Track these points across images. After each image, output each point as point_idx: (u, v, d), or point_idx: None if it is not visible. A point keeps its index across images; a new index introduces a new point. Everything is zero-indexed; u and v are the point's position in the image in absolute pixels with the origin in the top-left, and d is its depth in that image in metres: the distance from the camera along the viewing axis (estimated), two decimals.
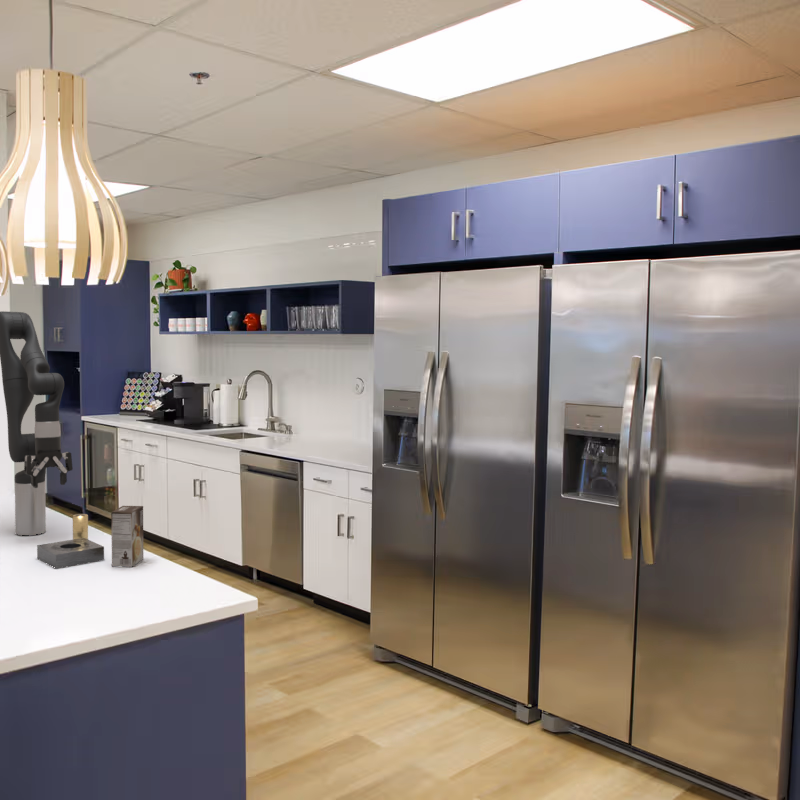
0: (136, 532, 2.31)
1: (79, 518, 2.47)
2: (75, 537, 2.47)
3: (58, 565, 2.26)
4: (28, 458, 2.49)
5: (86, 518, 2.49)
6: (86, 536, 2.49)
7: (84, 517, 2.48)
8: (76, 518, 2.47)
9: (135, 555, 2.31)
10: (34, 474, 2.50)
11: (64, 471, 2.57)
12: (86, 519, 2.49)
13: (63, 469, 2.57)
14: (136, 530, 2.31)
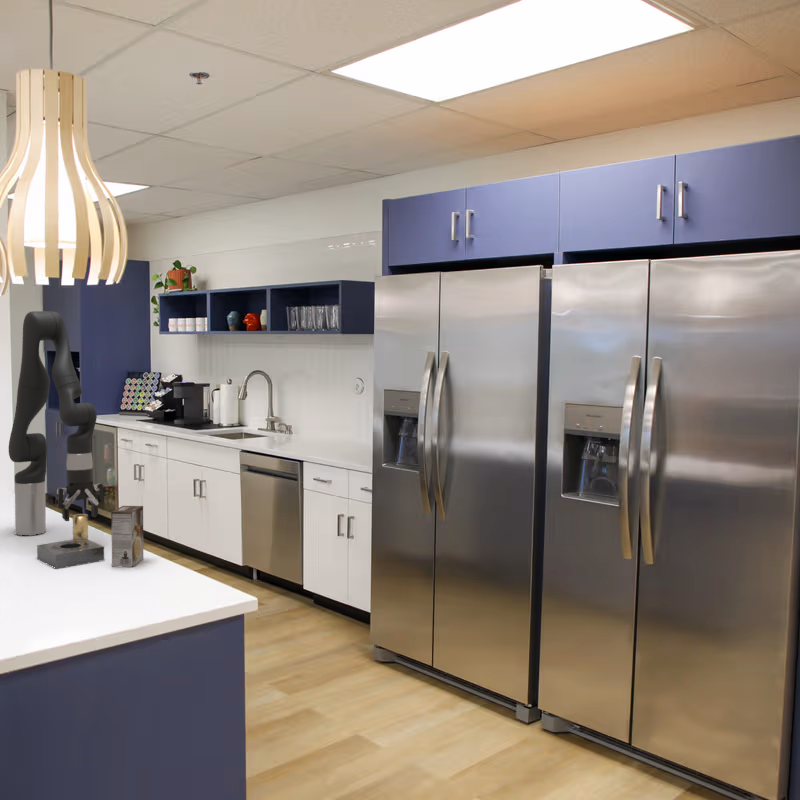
0: (136, 532, 2.31)
1: (79, 518, 2.47)
2: (75, 537, 2.47)
3: (58, 565, 2.26)
4: (60, 491, 2.43)
5: (86, 518, 2.49)
6: (86, 536, 2.49)
7: (84, 517, 2.48)
8: (76, 518, 2.47)
9: (135, 554, 2.31)
10: (66, 507, 2.44)
11: (96, 503, 2.51)
12: (86, 519, 2.49)
13: (95, 501, 2.50)
14: (136, 530, 2.31)
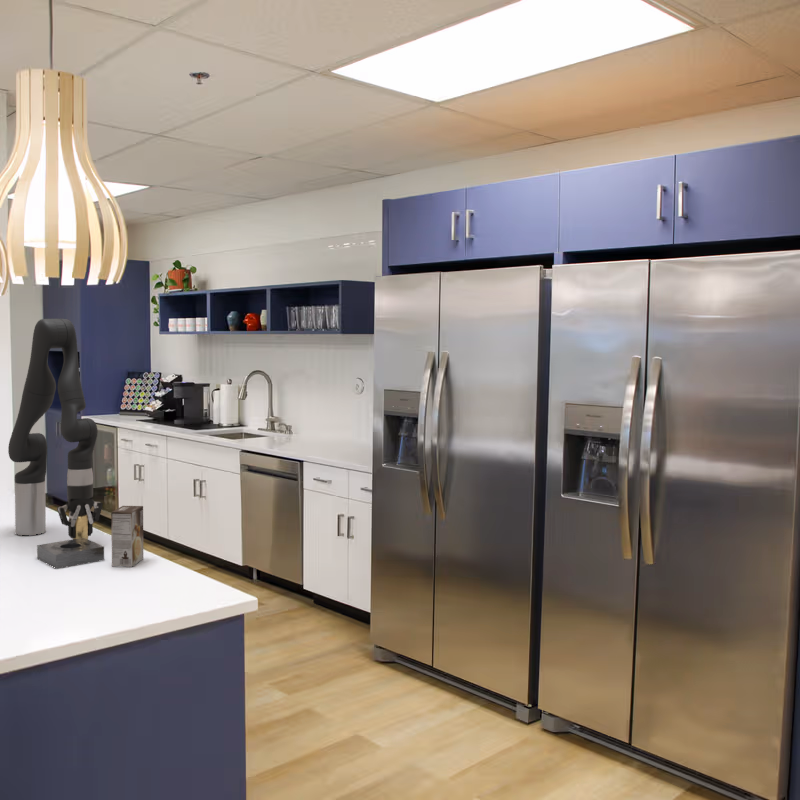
0: (136, 532, 2.31)
1: (79, 518, 2.47)
2: (75, 537, 2.47)
3: (58, 565, 2.26)
4: (61, 510, 2.44)
5: (86, 518, 2.49)
6: (86, 536, 2.49)
7: (84, 517, 2.48)
8: None
9: (135, 555, 2.31)
10: (72, 525, 2.46)
11: (90, 522, 2.50)
12: (86, 519, 2.49)
13: (90, 519, 2.50)
14: (136, 530, 2.31)
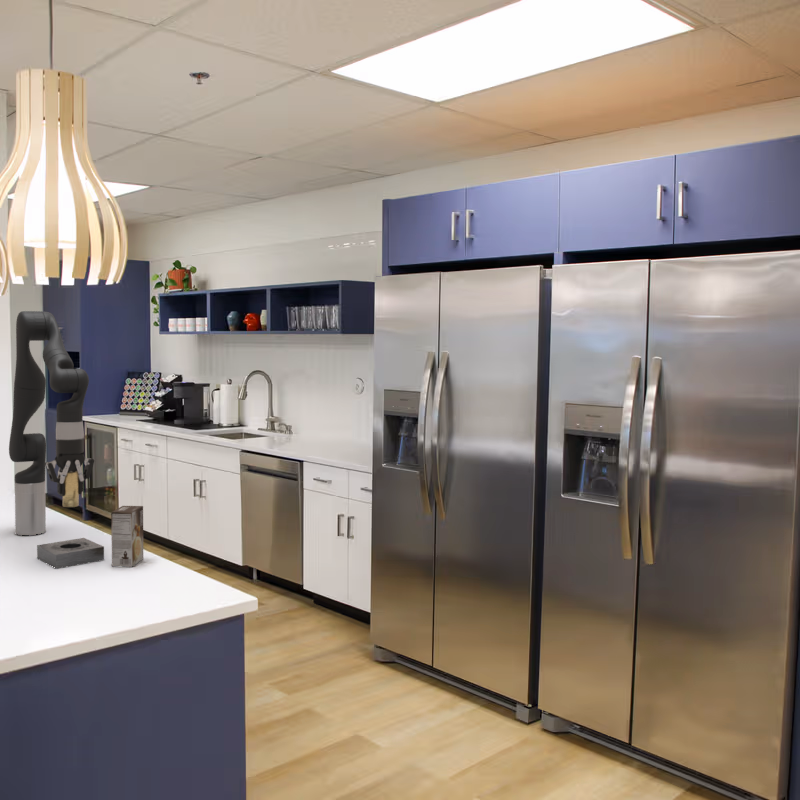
0: (136, 532, 2.31)
1: (69, 474, 2.32)
2: (65, 495, 2.32)
3: (58, 565, 2.26)
4: (49, 466, 2.28)
5: (76, 475, 2.33)
6: (76, 494, 2.34)
7: (74, 473, 2.33)
8: None
9: (135, 554, 2.31)
10: (61, 481, 2.31)
11: (81, 479, 2.35)
12: (76, 476, 2.33)
13: (80, 477, 2.35)
14: (136, 530, 2.31)
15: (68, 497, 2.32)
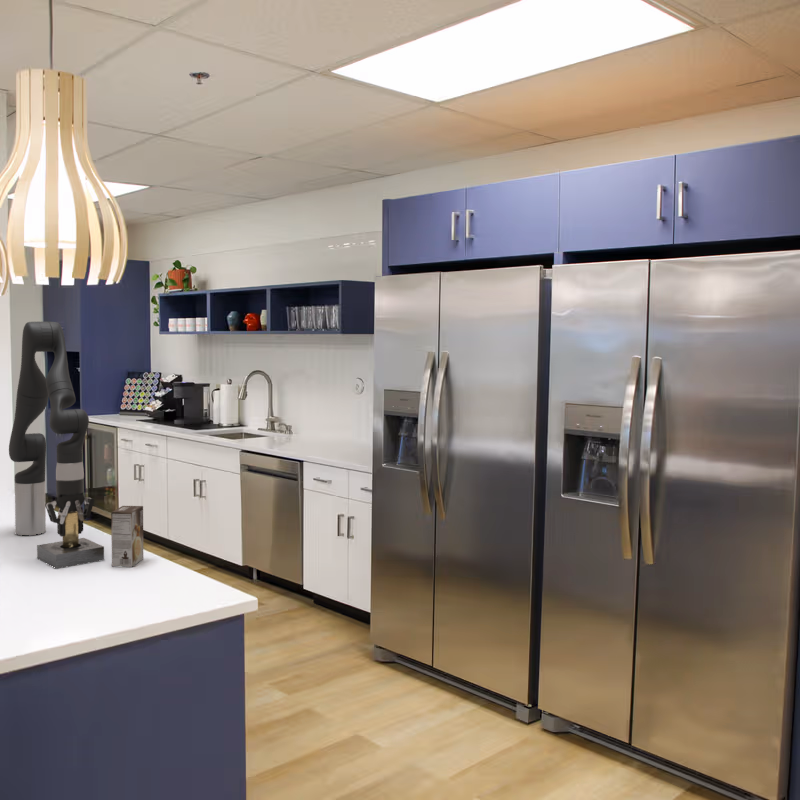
0: (136, 532, 2.31)
1: (69, 515, 2.32)
2: (65, 535, 2.33)
3: (58, 565, 2.26)
4: (49, 507, 2.29)
5: (76, 515, 2.34)
6: (76, 534, 2.34)
7: (74, 514, 2.33)
8: None
9: (135, 554, 2.31)
10: (61, 522, 2.32)
11: (81, 519, 2.36)
12: (76, 516, 2.34)
13: (80, 516, 2.36)
14: (136, 530, 2.31)
15: (68, 538, 2.33)
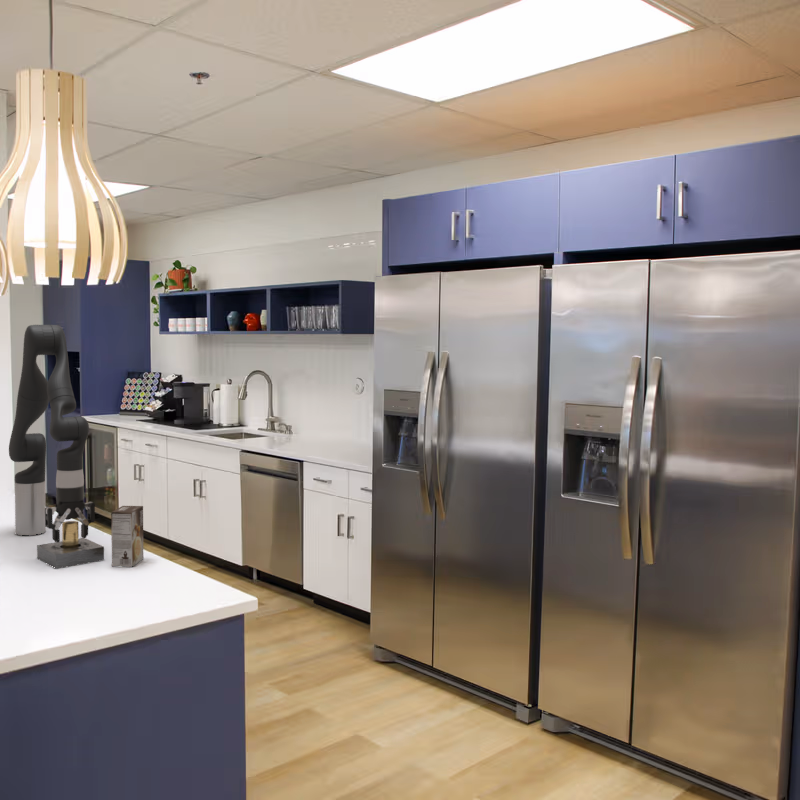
0: (136, 532, 2.31)
1: (69, 525, 2.33)
2: (65, 546, 2.33)
3: (58, 565, 2.26)
4: (49, 511, 2.29)
5: (76, 525, 2.34)
6: (76, 544, 2.35)
7: (74, 524, 2.34)
8: (66, 525, 2.33)
9: (135, 554, 2.31)
10: (56, 528, 2.31)
11: (86, 523, 2.37)
12: (76, 526, 2.34)
13: (85, 521, 2.37)
14: (136, 530, 2.31)
15: None
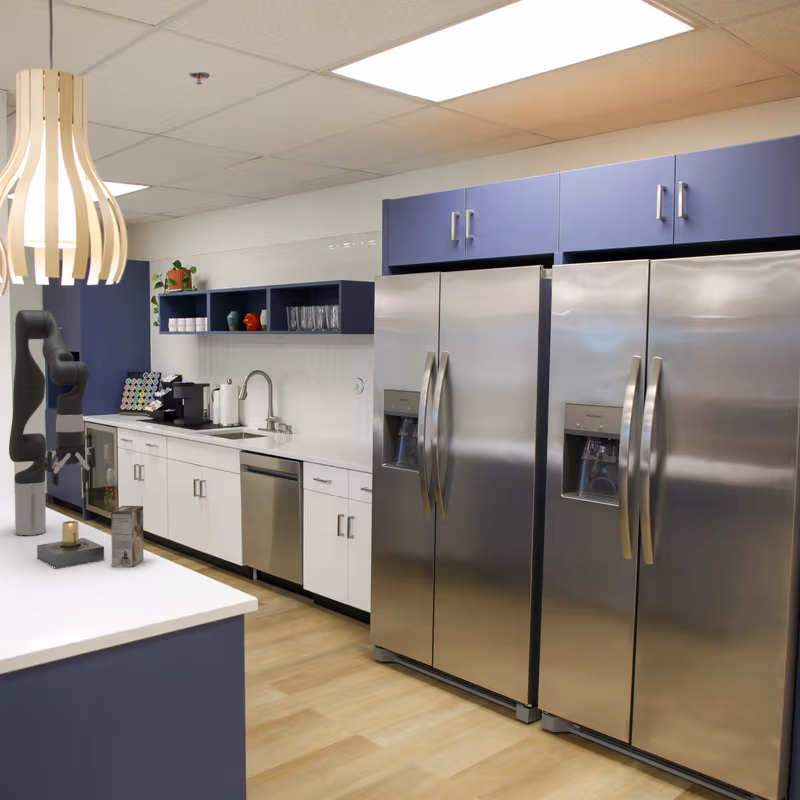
0: (136, 532, 2.31)
1: (69, 525, 2.33)
2: (65, 546, 2.33)
3: (58, 565, 2.26)
4: (49, 454, 2.29)
5: (76, 525, 2.34)
6: (76, 544, 2.35)
7: (74, 524, 2.34)
8: (66, 525, 2.33)
9: (135, 554, 2.31)
10: (55, 471, 2.30)
11: (87, 468, 2.37)
12: (76, 526, 2.34)
13: (86, 466, 2.36)
14: (136, 530, 2.31)
15: None
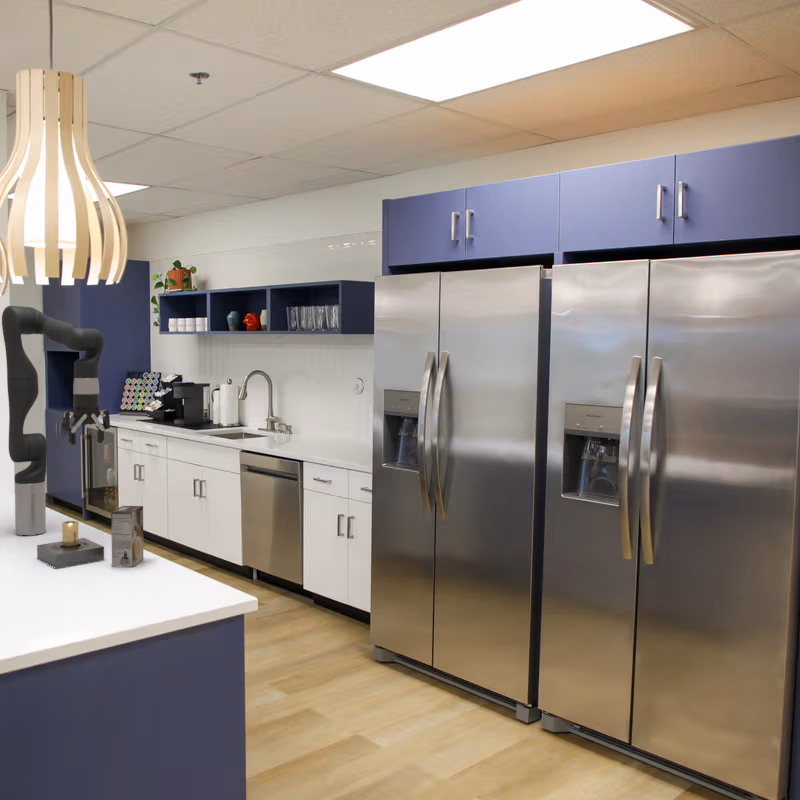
0: (136, 532, 2.31)
1: (69, 525, 2.33)
2: (65, 546, 2.33)
3: (58, 565, 2.26)
4: (67, 414, 2.45)
5: (76, 525, 2.34)
6: (76, 544, 2.35)
7: (74, 524, 2.34)
8: (66, 525, 2.33)
9: (135, 554, 2.31)
10: (72, 431, 2.46)
11: (102, 429, 2.53)
12: (76, 526, 2.34)
13: (101, 427, 2.53)
14: (136, 530, 2.31)
15: None
